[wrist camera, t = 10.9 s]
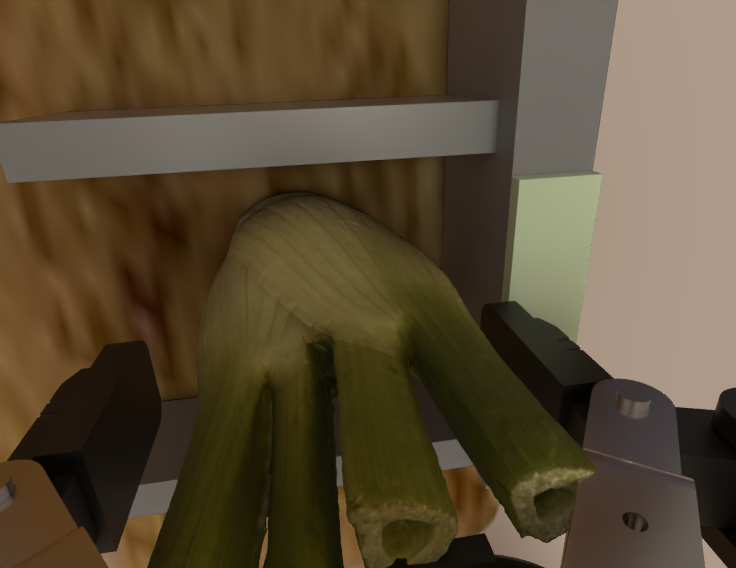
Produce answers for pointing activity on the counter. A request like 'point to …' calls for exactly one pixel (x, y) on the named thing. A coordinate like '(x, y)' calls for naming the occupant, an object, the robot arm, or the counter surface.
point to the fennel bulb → (348, 403)
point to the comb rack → (395, 141)
